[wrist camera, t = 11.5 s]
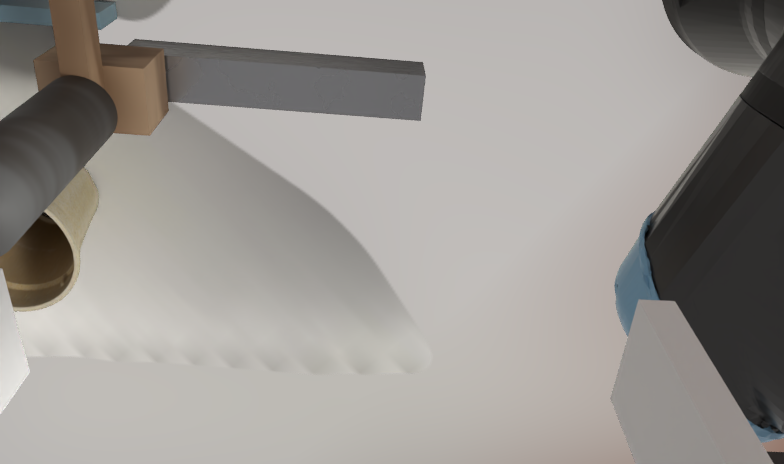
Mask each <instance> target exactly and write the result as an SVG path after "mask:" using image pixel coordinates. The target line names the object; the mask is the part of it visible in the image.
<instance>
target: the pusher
mask: <svg viewBox="0 0 784 464" xmlns="http://www.w3.org/2000/svg"><path fill="white" fill-rule="evenodd" d="M49 7H50V13H51V19H52V25H53V32H54V38H55V44H56V46H54V47H53V48H51V49H50V50H48V51H47V52H45V53H44V54H42V55H40V56H39V57H37V58H36V59H34V60H33V62H34V68H35V73H36V79H37V84H38V90H39V92H38V93H36V94H35V95H34V96H32V97H31V98H30V99H29V100H27V101H26V102H25V103H23V104H22V105H21V106H19V107H18V108H17V109H15V110H14V111H13V112H11V113H10V114H9V115H7V116H6V117H5V118H3V119H2V120H1V121H0V256H2V255H4V254H6V253H7V252H8V251H9V250H10V249H11V248H12V247H13V246H14V245H15V244H16V243H17V241H18V240H19V239H20V238H21V237H22V236H23V235H24V233H25V232H26V231H27V230H28V229H29V228H30V227H31V226H32V224H33V223H34V222H35V221H36V220H37V219H38V218H39V217H40V215H41V214H42V213H43V212H44V211H45V210H46V209H47V208H48V206H49V205H50V204H51V203H52V202H53V201H54V200H55V198H56V197H57V196H58V195H59V194H60V193H61V192H62V191H63V189H64V188H65V187H66V186H67V185H68V184H69V183H70V182H71V180H72V179H73V178H74V177H75V176H76V175H77V174H78V173H79V171H80V170H81V169H82V168H83V167H84V166H85V165H86V163H87V162H88V161H89V160H90V159H91V158H92V157H93V156H94V154H95V153H96V152H97V151H98V150H99V149H100V148H101V147H102V145H103V144H104V143H105V142H106V141H107V140H108V139H109V137H110V136H111V135H112V134H113V133H121V134H135V135H149V136H150V135H151V133H152V132H153V131H154V129H155V128H156V127H157V125H158V124H159V123H160V121H161V120H162V119H163V118H164V116H165V115H166V114H167V112H168V111H169V108H168V96H167V84H166V71H165V59H164V49H163V48H150V47H138V46H125V45H113V44H100V43H99V36H98V28H97V20H96V12H95V5H94V0H49Z"/></svg>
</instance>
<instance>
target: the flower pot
mask: <svg viewBox="0 0 784 464" xmlns="http://www.w3.org/2000/svg"><path fill="white" fill-rule="evenodd" d="M98 200H99V195H98V190H97V188H96V187H95V185H94V183H93V181H92V179H91V177H90V175H89V173H88V171H87V170H86V169H85V168H84V167H83V168H82V169H81V170H80V171H79V173H78V174H77V175H76V176H75V177H74V178H73V179H72V180H71V182H70V183H69V184H68V185H67V186H66V187H65V188H64V189H63V191H62V192H61V193H60V194H59V195H58V196H57V197H56V198H55V200H54V201H53V202H52V203H51V204H50V205H49V206H48V208H47V209H46V210H45V211H44V212H45V213H46V214H47V215H48V216H50V217H51V218H50V217H47V216H44V215H42V214H41V215H40V217H39V218H38V219H37V220H36V221H35V222H34V223H33V224H32V226H31V227H30V228H29V229H28V230H27V231H26V232H25V233H24V235H23V236H22V237H21V238H20V239H19V240H18V241H17V243H16V244H15V245H14V246H13V247H12V248H11V249H10V250H9V251H8V252H7V253H6V254H4V255H2V256H0V268H2V269H3V273H4V277H5V280H6V284H7V288H8V292H9V295H10V299H11V303H12V307H13V310H14V311H16V312H17V311H20V312H24V311H33V310H39V309H43V308H46V307H48V306H51V305H53V304H55V303H57V302H59V301H60V300H62V299H63V298H64V297H65V296H66V295H67V294H68V293H69V292H70V291H71V289H72V288H73V286H74V284H75V282H76V280H77V278H78V275H79V271H80V247H81V245H82V242H83V240H84V237H85V235H86V232H87V230H88V227H89V225H90V223H91V220H92V218H93V216H94V214H95V212H96V210H97V207H98Z"/></svg>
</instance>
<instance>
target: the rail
mask: <svg viewBox="0 0 784 464" xmlns="http://www.w3.org/2000/svg"><path fill="white" fill-rule="evenodd" d="M127 46H138V47H150V48H163V49H164V59H165V71H166V84H167V96H168V102H181V103H194V104H207V105H221V106H235V107H247V108H260V109H273V110H286V111H300V112H314V113H326V114H340V115H352V116H366V117H379V118H392V119H405V120H421V112H422V102H423V94H424V85H425V77H426V76H425V71H424V66H423V62H412V61H400V60H387V59H375V58H362V57H350V56H336V55H324V54H313V53H300V52H288V51H275V50H263V49H251V48H250V49H249V48H238V47H226V46H212V45H201V44H189V43H176V42H164V41H152V40H139V39H135V40H133V41H132V42H131V43H130V44H129V45H127Z"/></svg>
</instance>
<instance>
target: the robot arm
mask: <svg viewBox="0 0 784 464" xmlns="http://www.w3.org/2000/svg"><path fill="white" fill-rule="evenodd" d="M662 1H663V5H664V8H665V11H666V14H667V16H668V19H669V21H670V23H671V25H672V27H673V28H674V30H675V32H676V33H677V34H678V36H679V37H680V38H681V40H682V41H683V42H684V43H685V44H686V45H687V46H688V47H689V48H690V49H692V50H693V51H694V52H695V53H697V54H699V55H700V56H701V57H703V58H704V59H706V60H707V61H709V62H710V63H712V64H713V65H715V66H717V67H719V68H721V69H724V70H726V71H728V72H731V73H735V74H738V75H742V76H747V77H753V78H752V79H751V80H750V82H749V83H748V85H747V86H746V88H745V89H744V91H743V92H742V93H741V94H740V95H739V97H738V98H737V99H736V101H735V102H734V104H733V105H732V106H731V108H730V109H729V111H728V112H727V113H726V115H725V116H724V118H723V119H722V121H721V122H720V123H719V125H718V126H717V127H716V129H715V130H714V131H713V133H712V134H711V135H710V137H709V138H708V140H707V141H706V142H705V144H704V145H703V147H702V148H701V149H700V151H699V152H698V154H697V155H696V156H695V157H694V159H693V160H692V162H691V163H690V164H689V166H688V167H687V169H686V170H685V171H684V173H683V174H682V175H681V177H680V178H679V180H678V181H677V182H676V184H675V185H674V186H673V188H672V189H671V190H670V192H669V193H668V195H667V196H666V197H665V199H664V200H663V201H662V203H661V204H660V206H659V207H658V208H657V210H656V211H654V212H653V213H651V214H650V215H649V216H648V217H647V218H646V220H645V221H644V223H643V225H642V228H641V231H640V236H639V238H638V239H637V241H636V243H635V244H634V246H633V247H632V249H631V250H630V252H629V253H628V255H627V257H626V258H625V260H624V261H623V263H622V264H621V266H620V268H619V271H618V273H617V276H616V280H615V293H616V308H617V313H618V315H619V318H620V321H621V324H622V326H623V328H624V331H625V332H626V335H627V336H628V339H627V342H626V345H625V349H624V353H623V357H622V360H621V363H620V367H619V370H618V374H617V378H616V381H615V384H614V388H613V391H612V395H611V401H612V403H613V406H614V408H615V411H616V414H617V416H618V419H619V422H620V424H621V427H622V429H623V432H624V435H625V437H626V440H627V442H628V445H629V448H630V450H631V453H632V455H633V458H634V460H635V463H636V464H784V452H766V450H765V448H764V447H763V445H762V442H769V441H772V440H774V439H782V438H784V0H662ZM29 373H30V370H29V366H28V363H27V359H26V355H25V351H24V347H23V344H22V340H21V336H20V333H19V329H18V325H17V321H16V318H15V314H14V310H13V307H12V303H11V299H10V295H9V292H8V288H7V284H6V280H5V277H4V273H3V269H2V268H0V414H1V413H2V411H3V410H4V409H5V407H6V406H7V404H8V403H9V401H10V400H11V398H12V397H13V396H14V394H15V393H16V391H17V390H18V388H19V387H20V386H21V384H22V383H23V381H24V380H25V378H26V377H27V375H28V374H29Z"/></svg>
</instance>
